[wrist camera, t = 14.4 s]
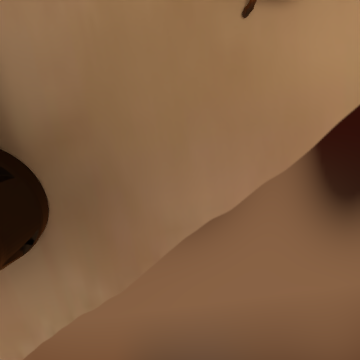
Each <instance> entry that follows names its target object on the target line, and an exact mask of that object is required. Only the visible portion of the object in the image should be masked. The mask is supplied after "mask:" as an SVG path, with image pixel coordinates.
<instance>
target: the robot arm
mask: <svg viewBox="0 0 360 360" xmlns="http://www.w3.org/2000/svg"><path fill="white" fill-rule="evenodd" d="M48 213H49V211H48V202H47V198H46V195H45V192H44V190H43V188H42V186H41V184H40V183H39V181H38V180H37V178H36V177H35V176H34V174H33V173H32V172H31V171H30V170H29V169H28V168H27V167H26V166H25V165H24V164H23V163H21V162H20V161H19V160H17V159H16V158H14V157H13V156H11V155H10V154H8V153H6V152H4V151H2V150H0V271H1V270H2V269H4V268H5V267H7V266H8V265H9V264H11V263H12V262H14V261H15V260H17V259H18V258H20V257H21V256H23V255H24V254H26V253H27V252H28V251H29V250H30V249H31V248H32V247H33V246H34V245H35V244H36V242H37V241H38V239H39V238H40V236H41V234H42V233H43V231H44V229H45V227H46V224H47V221H48Z"/></svg>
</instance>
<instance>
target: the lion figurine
mask: <svg viewBox="0 0 360 360" xmlns="http://www.w3.org/2000/svg"><path fill="white" fill-rule="evenodd" d="M255 2H256V0H250V2H249V4H248V5H247V6H246V7H245V8H244V11H243V14H242V16H243V17H244V18H246V17H247V16H248V15H249V13H250V12H251V11H252V10H253V9H254V5H255Z"/></svg>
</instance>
